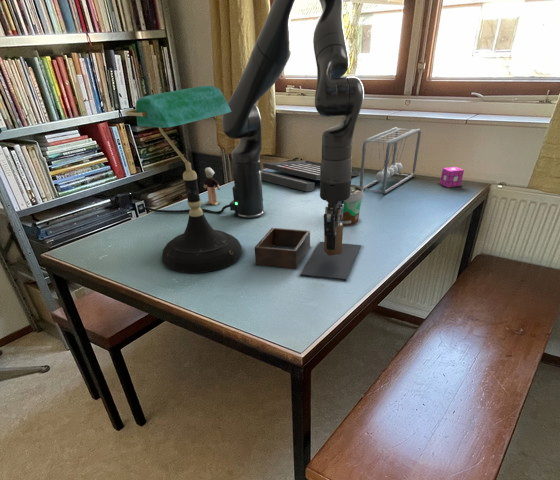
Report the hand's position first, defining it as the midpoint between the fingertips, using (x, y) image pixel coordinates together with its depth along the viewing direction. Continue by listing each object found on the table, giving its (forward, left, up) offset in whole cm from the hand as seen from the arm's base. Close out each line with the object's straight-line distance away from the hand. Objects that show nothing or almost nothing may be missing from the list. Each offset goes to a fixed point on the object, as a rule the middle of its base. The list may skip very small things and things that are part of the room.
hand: (332, 244), depth 113 cm
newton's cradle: (+6, +76, -5) cm, 76 cm away
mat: (0, 0, -5) cm, 5 cm away
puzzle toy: (+30, +78, -5) cm, 84 cm away
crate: (-14, 0, -5) cm, 15 cm away
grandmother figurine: (-54, +39, -5) cm, 67 cm away
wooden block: (0, 0, -2) cm, 2 cm away
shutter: (-29, +80, -5) cm, 85 cm away
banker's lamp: (-37, -5, -5) cm, 38 cm away
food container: (0, +31, -5) cm, 31 cm away
